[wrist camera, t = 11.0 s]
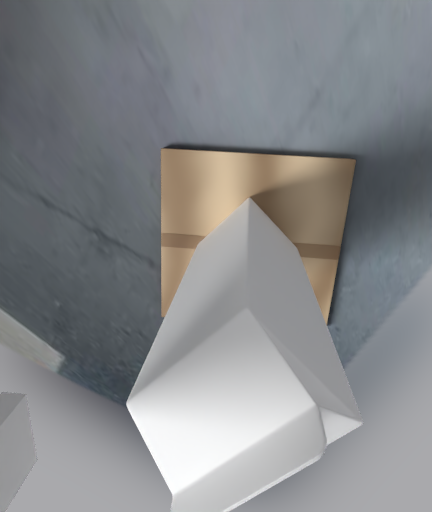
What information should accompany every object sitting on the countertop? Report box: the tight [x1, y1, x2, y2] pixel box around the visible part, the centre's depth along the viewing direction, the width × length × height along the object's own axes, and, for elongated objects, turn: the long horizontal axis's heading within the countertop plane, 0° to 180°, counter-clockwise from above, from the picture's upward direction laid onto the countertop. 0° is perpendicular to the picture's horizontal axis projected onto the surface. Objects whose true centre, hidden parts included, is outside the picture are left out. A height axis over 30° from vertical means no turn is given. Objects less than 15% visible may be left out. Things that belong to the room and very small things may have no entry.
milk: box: [127, 197, 363, 512], centre depth 20 cm, size 6×6×22 cm
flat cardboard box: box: [161, 148, 356, 325], centre depth 31 cm, size 15×15×1 cm
